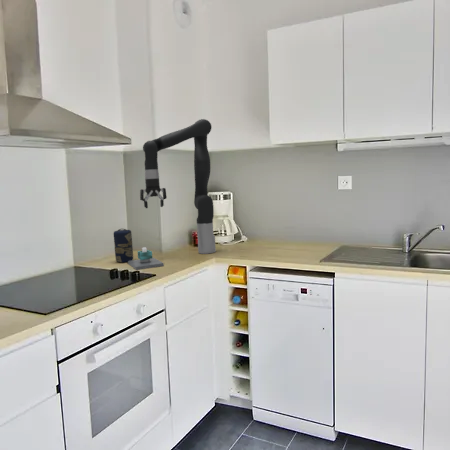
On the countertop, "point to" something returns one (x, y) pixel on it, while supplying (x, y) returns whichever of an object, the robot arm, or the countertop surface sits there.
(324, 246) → the countertop surface
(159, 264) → the shaft stand
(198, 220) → the robot arm
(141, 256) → the collar
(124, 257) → the canister
